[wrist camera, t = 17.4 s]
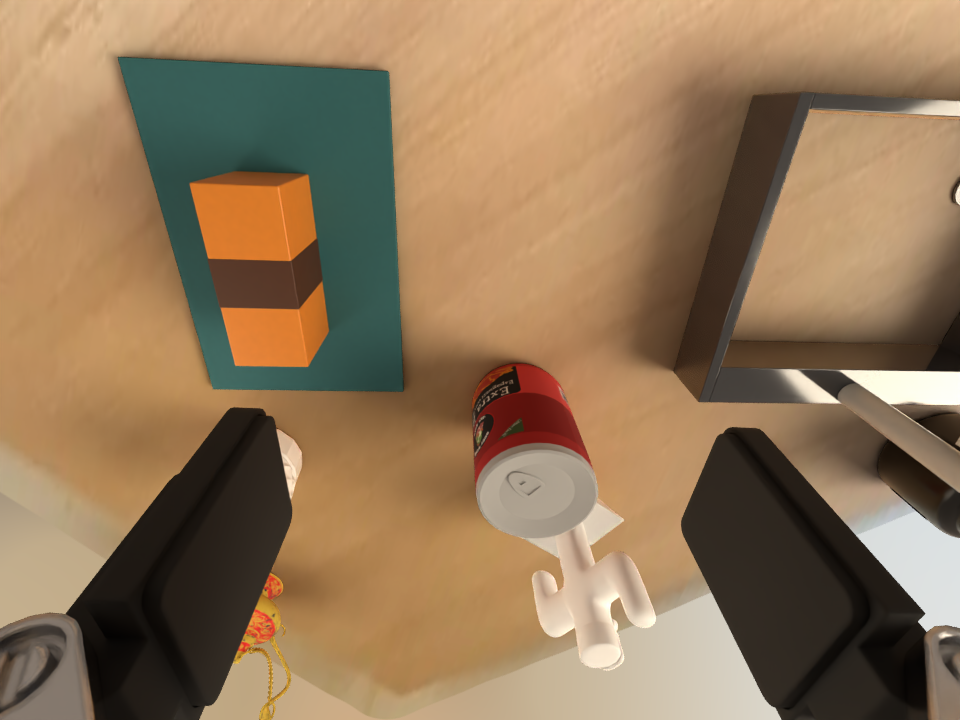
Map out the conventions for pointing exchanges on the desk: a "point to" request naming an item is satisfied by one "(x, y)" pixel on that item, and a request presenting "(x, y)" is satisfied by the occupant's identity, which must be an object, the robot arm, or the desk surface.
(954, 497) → the ink bottle
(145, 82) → the mat
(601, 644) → the figurine
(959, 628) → the robot arm
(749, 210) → the sink basin
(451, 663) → the desk surface
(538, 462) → the canned food
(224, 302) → the orange striped block
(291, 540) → the desk surface
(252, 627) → the magic lamp
